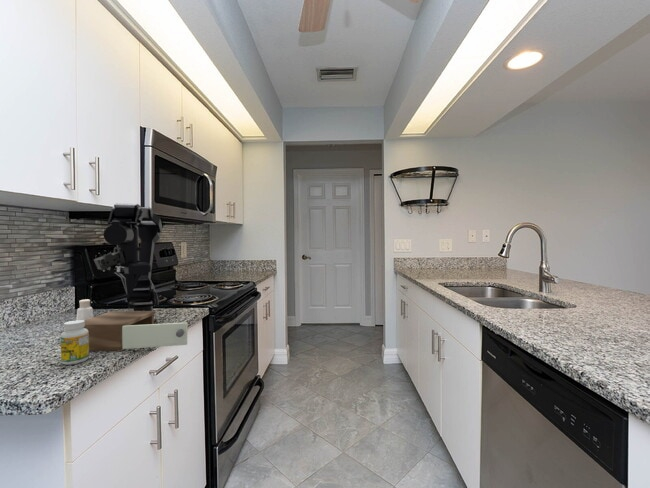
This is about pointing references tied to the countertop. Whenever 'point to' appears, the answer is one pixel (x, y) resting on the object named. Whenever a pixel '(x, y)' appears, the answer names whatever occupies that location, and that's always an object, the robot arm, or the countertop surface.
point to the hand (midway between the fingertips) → (128, 294)
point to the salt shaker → (84, 310)
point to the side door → (154, 335)
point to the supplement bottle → (74, 343)
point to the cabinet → (113, 328)
